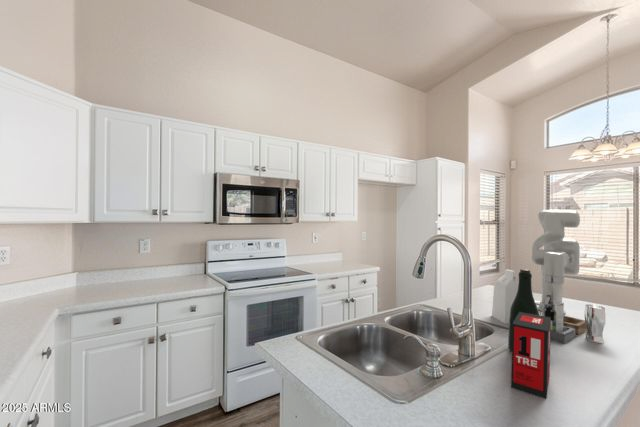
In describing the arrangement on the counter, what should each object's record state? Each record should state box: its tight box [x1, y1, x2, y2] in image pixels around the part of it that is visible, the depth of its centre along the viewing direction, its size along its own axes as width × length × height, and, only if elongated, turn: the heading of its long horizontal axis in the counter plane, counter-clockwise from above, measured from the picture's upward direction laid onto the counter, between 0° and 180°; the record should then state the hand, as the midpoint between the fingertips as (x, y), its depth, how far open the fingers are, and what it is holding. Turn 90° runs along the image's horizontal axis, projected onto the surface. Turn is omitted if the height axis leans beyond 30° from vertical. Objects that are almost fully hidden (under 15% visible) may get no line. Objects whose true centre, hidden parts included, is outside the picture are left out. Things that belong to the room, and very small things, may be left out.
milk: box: [491, 269, 519, 325], centre depth 161 cm, size 12×12×26 cm
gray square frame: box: [550, 326, 576, 345], centre depth 140 cm, size 13×13×4 cm
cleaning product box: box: [510, 312, 551, 400], centre depth 99 cm, size 16×9×20 cm, turn 141°
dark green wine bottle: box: [507, 268, 540, 353], centre depth 121 cm, size 10×10×33 cm
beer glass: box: [584, 303, 607, 344], centre depth 136 cm, size 7×7×15 cm
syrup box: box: [542, 301, 565, 333], centre depth 140 cm, size 6×6×14 cm
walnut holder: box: [563, 314, 587, 337], centre depth 150 cm, size 13×13×4 cm
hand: (552, 318), depth 140 cm, fingers closed on syrup box, 6 cm apart
